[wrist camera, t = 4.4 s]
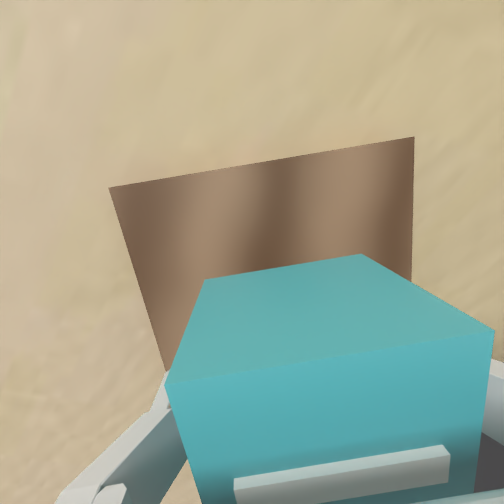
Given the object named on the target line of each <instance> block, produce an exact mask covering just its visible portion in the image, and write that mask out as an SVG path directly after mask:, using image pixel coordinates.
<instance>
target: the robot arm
mask: <svg viewBox="0 0 504 504" xmlns="http://www.w3.org/2000/svg"><path fill="white" fill-rule="evenodd" d="M169 371H170V369H169V370H167V371H166V373H165V375H164V377H163V380H162V382H161V384H160V387H159V389H158V392H157V394H156V397H155V399H154V402H153V404H152V406H151V409H150V411H149V412H145V413H144V414H143V415H142V416H140V417H139V418H138V419H137V420H136V421H135V422H134V423H133V424H132V425H131V426H130V427H129V428H128V429H127V430H126V431H125V432H124V433H123V434H122V435H120V436H119V437H118V438H117V439H116V440H115V441H114V442H113V443H112V444H111V445H110V446H109V447H108V448H107V449H106V450H105V451H104V452H103V453H102V454H100V455H99V456H98V457H97V458H96V459H95V460H94V461H93V462H92V463H91V464H90V465H89V466H88V467H87V468H86V469H85V470H84V471H83V472H82V473H80V474H79V475H78V476H77V477H76V478H75V479H74V480H73V481H72V482H71V483H70V484H69V485H68V486H67V487H66V488H65V489H64V490H63V491H62V492H61V493H60V495H59V497H58V499H57V500H56V502H55V504H160V502H161V501H162V499H163V497H164V496H165V494H166V492H167V491H168V489H169V488H170V486H171V484H172V483H173V481H174V479H175V478H176V476H177V475H178V473H179V471H180V470H181V468H182V467H183V465H184V463H185V462H186V460H187V455H186V452H185V449H184V446H183V443H182V439H181V436H180V433H179V430H178V427H177V424H176V421H175V418H174V415H173V411H172V408H171V405H170V402H169V399H168V396H167V393H166V390H165V387H164V384H165V381H166V379H167V376H168V373H169ZM482 432H483V433H484V434H486V435H487V436H489V437H491V438H492V439H494V440H495V441H497V442H499V443H500V444H502V445H503V446H504V363H503V362H500V361H497V360H494V359H491V363H490V371H489V379H488V386H487V394H486V401H485V409H484V417H483V424H482ZM411 504H504V488H503V489H496V490H490V491H484V492H478V493H472V494H466V495H460V496H454V497H447V498H441V499H435V500H429V501H423V502H417V503H411Z"/></svg>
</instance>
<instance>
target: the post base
mask: <svg viewBox="0 0 504 504" xmlns="http://www.w3.org/2000/svg"><path fill="white" fill-rule="evenodd" d="M413 180H414V137H409V138H403V139H397V140H391V141H385V142H380V143H374V144H368V145H362V146H356V147H350V148H344V149H338V150H332V151H326V152H320V153H314V154H308V155H302V156H296V157H290V158H284V159H278V160H272V161H266V162H260V163H254V164H248V165H242V166H236V167H230V168H224V169H218V170H212V171H206V172H200V173H194V174H188V175H182V176H176V177H170V178H165V179H159V180H153V181H147V182H141V183H135V184H129V185H123V186H117V187H111V188H109V191H110V194H111V197H112V200H113V204H114V207H115V210H116V213H117V216H118V220H119V223H120V226H121V229H122V232H123V236H124V239H125V242H126V245H127V248H128V252H129V255H130V258H131V261H132V264H133V268H134V271H135V274H136V277H137V280H138V284H139V287H140V290H141V293H142V296H143V300H144V303H145V306H146V309H147V312H148V315H149V319H150V322H151V325H152V328H153V331H154V335H155V338H156V341H157V344H158V347H159V351H160V354H161V357H162V360H163V363H164V367H165V370H166V371H167V370H169V369H170V368H171V366H172V363H173V360H174V358H175V355H176V353H177V350H178V347H179V345H180V342H181V340H182V337H183V335H184V332H185V329H186V327H187V324H188V322H189V319H190V316H191V314H192V311H193V309H194V306H195V303H196V301H197V298H198V296H199V293H200V291H201V288H202V285H203V283H204V280H205V279H211V278H218V277H224V276H230V275H236V274H242V273H248V272H254V271H260V270H266V269H272V268H278V267H284V266H290V265H296V264H302V263H308V262H314V261H320V260H326V259H332V258H338V257H344V256H350V255H356V254H363V255H365V256H367V257H368V258H370V259H372V260H374V261H375V262H377V263H379V264H380V265H382V266H384V267H386V268H387V269H389V270H391V271H393V272H394V273H396V274H398V275H399V276H401V277H403V278H405V279H406V280H408V281H410V282H411V272H412V226H413Z"/></svg>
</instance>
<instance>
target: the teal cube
mask: <svg viewBox="0 0 504 504" xmlns="http://www.w3.org/2000/svg"><path fill="white" fill-rule="evenodd" d="M494 333H495V330H493V329H491V328H490V327H488V326H486V325H484V324H483V323H481V322H479V321H477V320H476V319H474V318H472V317H470V316H469V315H467V314H465V313H464V312H462V311H460V310H458V309H457V308H455V307H453V306H451V305H450V304H448V303H446V302H444V301H443V300H441V299H439V298H438V297H436V296H434V295H432V294H431V293H429V292H427V291H425V290H424V289H422V288H420V287H419V286H417V285H415V284H413V283H412V282H410V281H408V280H406V279H405V278H403V277H401V276H399V275H398V274H396V273H394V272H393V271H391V270H389V269H387V268H386V267H384V266H382V265H380V264H379V263H377V262H375V261H374V260H372V259H370V258H368V257H367V256H365V255H363V254H356V255H350V256H344V257H338V258H332V259H326V260H320V261H314V262H308V263H302V264H296V265H290V266H284V267H278V268H272V269H266V270H260V271H254V272H248V273H242V274H236V275H230V276H224V277H218V278H211V279H205V280H204V283H203V285H202V288H201V291H200V293H199V296H198V298H197V301H196V303H195V306H194V309H193V311H192V314H191V316H190V319H189V322H188V324H187V327H186V329H185V332H184V335H183V337H182V340H181V342H180V345H179V347H178V350H177V353H176V355H175V358H174V360H173V363H172V366H171V368H170V371H169V373H168V376H167V379H166V381H165V384H164V387H165V390H166V393H167V396H168V399H169V402H170V405H171V408H172V411H173V415H174V418H175V421H176V424H177V427H178V430H179V433H180V436H181V439H182V443H183V446H184V449H185V452H186V455H187V458H188V461H189V464H190V467H191V471H192V474H193V477H194V480H195V483H196V486H197V489H198V492H199V495H200V499H201V502H202V504H411V503H417V502H423V501H429V500H435V499H441V498H447V497H454V496H460V495H466V494H472V493H473V492H474V485H475V477H476V470H477V462H478V454H479V447H480V439H481V432H482V424H483V417H484V409H485V401H486V394H487V386H488V379H489V371H490V363H491V356H492V348H493V341H494Z"/></svg>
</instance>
